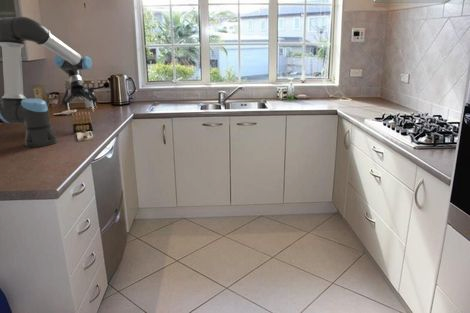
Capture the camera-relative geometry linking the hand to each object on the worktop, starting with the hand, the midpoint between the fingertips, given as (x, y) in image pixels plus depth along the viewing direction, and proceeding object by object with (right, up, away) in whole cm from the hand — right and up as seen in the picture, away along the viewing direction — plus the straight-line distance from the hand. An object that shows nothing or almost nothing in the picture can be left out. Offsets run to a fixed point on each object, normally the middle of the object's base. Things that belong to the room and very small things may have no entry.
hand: (81, 111), depth 231 cm
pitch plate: (+8, -16, -15) cm, 23 cm away
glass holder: (-29, +13, +85) cm, 91 cm away
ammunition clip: (+2, -12, -2) cm, 13 cm away
